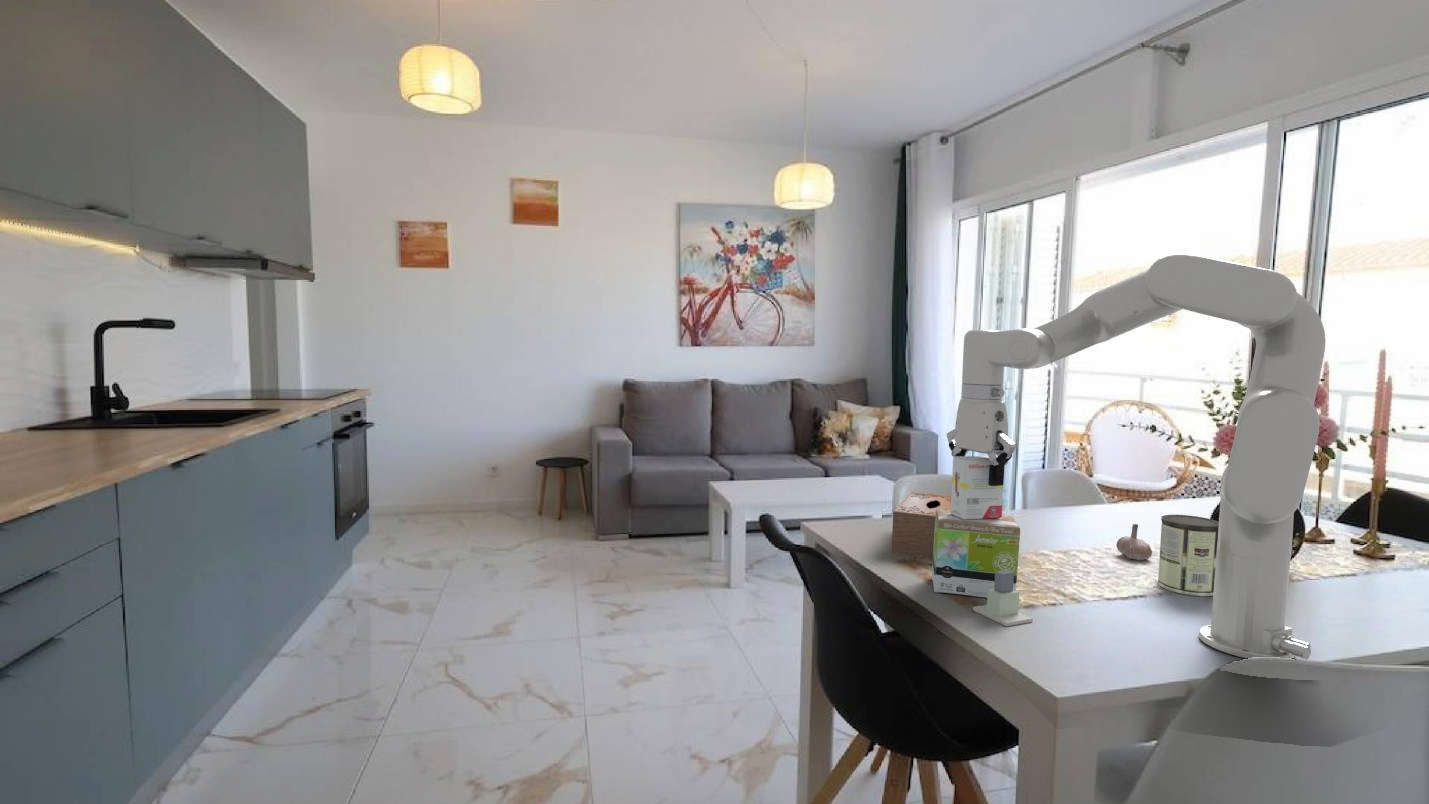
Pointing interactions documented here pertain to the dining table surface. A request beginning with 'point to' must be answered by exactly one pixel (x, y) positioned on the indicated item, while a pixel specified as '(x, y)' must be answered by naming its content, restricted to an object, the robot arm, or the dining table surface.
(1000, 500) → the ink box
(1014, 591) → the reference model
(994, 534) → the tea box
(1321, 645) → the dining table surface
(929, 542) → the tissue box cover
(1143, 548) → the garlic bulb
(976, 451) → the robot arm
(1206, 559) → the coffee can
